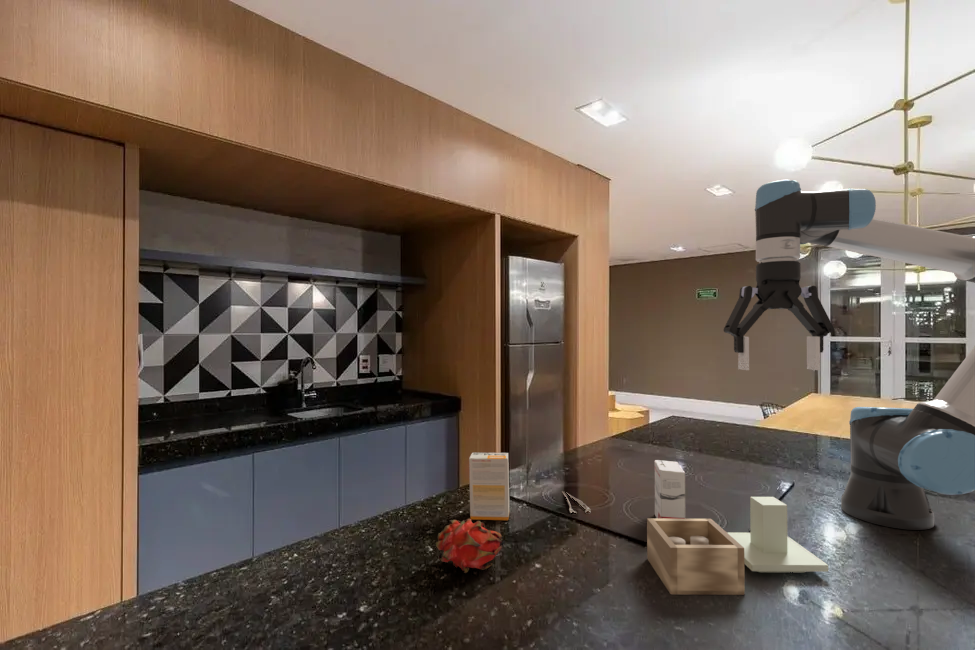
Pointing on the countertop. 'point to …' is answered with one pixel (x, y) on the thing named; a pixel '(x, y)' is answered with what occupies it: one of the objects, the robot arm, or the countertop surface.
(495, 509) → the supplement box
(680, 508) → the ink box
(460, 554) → the dragon fruit
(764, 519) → the lid
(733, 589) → the storage box
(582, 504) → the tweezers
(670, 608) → the countertop surface
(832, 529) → the countertop surface
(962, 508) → the countertop surface
